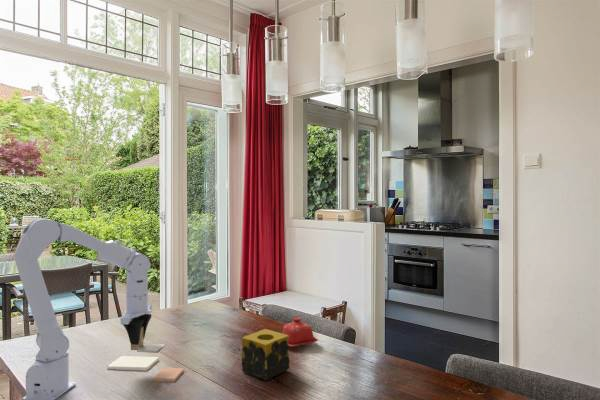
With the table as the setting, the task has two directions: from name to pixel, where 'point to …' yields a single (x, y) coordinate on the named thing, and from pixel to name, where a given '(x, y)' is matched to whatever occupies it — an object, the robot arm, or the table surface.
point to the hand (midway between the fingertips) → (137, 342)
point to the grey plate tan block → (146, 346)
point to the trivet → (133, 363)
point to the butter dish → (298, 333)
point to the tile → (168, 374)
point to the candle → (265, 354)
